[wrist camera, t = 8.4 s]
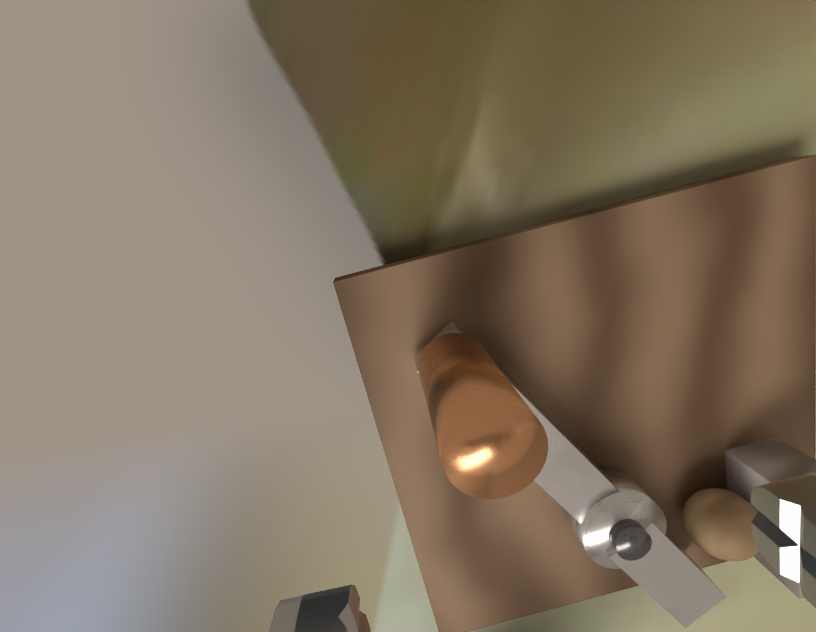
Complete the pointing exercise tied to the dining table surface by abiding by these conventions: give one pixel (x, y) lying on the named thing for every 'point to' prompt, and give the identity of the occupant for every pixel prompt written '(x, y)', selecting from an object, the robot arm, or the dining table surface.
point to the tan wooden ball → (721, 524)
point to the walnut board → (603, 373)
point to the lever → (550, 472)
